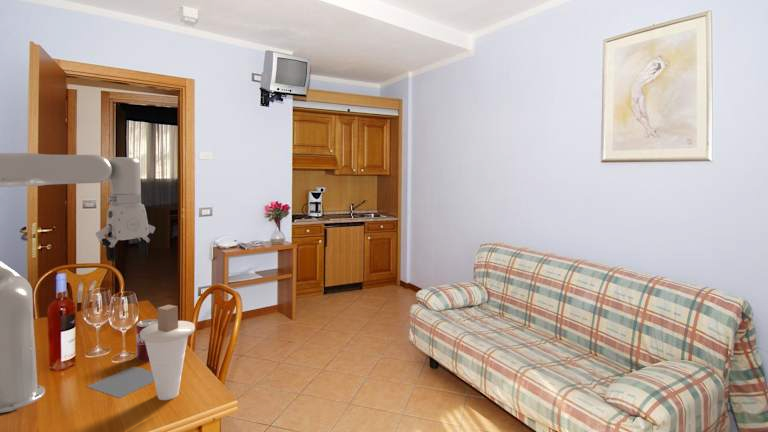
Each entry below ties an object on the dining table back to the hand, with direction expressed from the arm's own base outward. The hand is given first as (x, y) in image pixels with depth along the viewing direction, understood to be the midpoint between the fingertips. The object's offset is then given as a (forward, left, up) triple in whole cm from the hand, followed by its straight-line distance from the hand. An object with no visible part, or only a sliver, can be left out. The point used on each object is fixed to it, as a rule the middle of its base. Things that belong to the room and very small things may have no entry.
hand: (128, 257), depth 124 cm
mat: (-5, -5, -35) cm, 36 cm away
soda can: (+9, +4, -36) cm, 37 cm away
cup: (-5, -22, -36) cm, 42 cm away
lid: (-5, -22, -17) cm, 28 cm away
